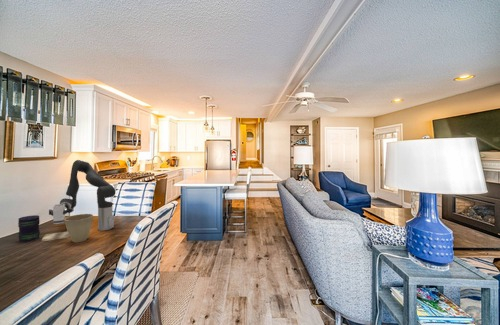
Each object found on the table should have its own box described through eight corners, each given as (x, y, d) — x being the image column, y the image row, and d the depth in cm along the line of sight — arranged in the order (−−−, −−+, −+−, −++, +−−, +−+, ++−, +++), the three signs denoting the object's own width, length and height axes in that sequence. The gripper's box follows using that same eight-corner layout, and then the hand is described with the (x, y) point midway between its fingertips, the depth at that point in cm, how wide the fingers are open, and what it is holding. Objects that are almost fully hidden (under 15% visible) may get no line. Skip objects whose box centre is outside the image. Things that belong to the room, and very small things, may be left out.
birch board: (75, 232, 154) (75, 230, 154) (73, 236, 146) (73, 234, 146) (46, 236, 146) (46, 234, 146) (41, 241, 137) (41, 239, 137)
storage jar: (24, 237, 143) (23, 216, 143) (43, 235, 147) (42, 214, 146) (14, 243, 134) (14, 220, 133) (34, 241, 137) (34, 218, 137)
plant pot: (75, 236, 147) (75, 213, 146) (98, 235, 148) (98, 213, 148) (58, 245, 132) (58, 220, 132) (83, 245, 133) (83, 220, 133)
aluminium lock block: (65, 220, 150) (65, 203, 149) (63, 223, 144) (63, 205, 144) (55, 221, 147) (55, 204, 146) (53, 224, 142) (52, 206, 141)
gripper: (50, 204, 153) (43, 209, 139) (76, 202, 161) (71, 207, 147) (50, 214, 154) (44, 220, 139) (76, 211, 161) (71, 217, 147)
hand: (58, 213), depth 143 cm, fingers closed on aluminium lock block, 5 cm apart
